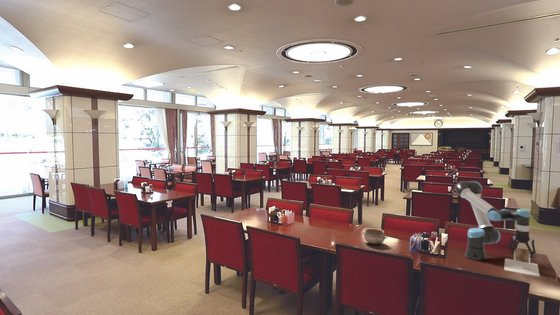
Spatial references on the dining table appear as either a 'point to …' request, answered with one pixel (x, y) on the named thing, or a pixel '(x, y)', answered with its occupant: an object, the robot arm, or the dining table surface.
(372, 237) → the cooking pot
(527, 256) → the walnut plaque
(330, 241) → the dining table surface
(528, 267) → the cream white flat board
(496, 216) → the robot arm
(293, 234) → the dining table surface
